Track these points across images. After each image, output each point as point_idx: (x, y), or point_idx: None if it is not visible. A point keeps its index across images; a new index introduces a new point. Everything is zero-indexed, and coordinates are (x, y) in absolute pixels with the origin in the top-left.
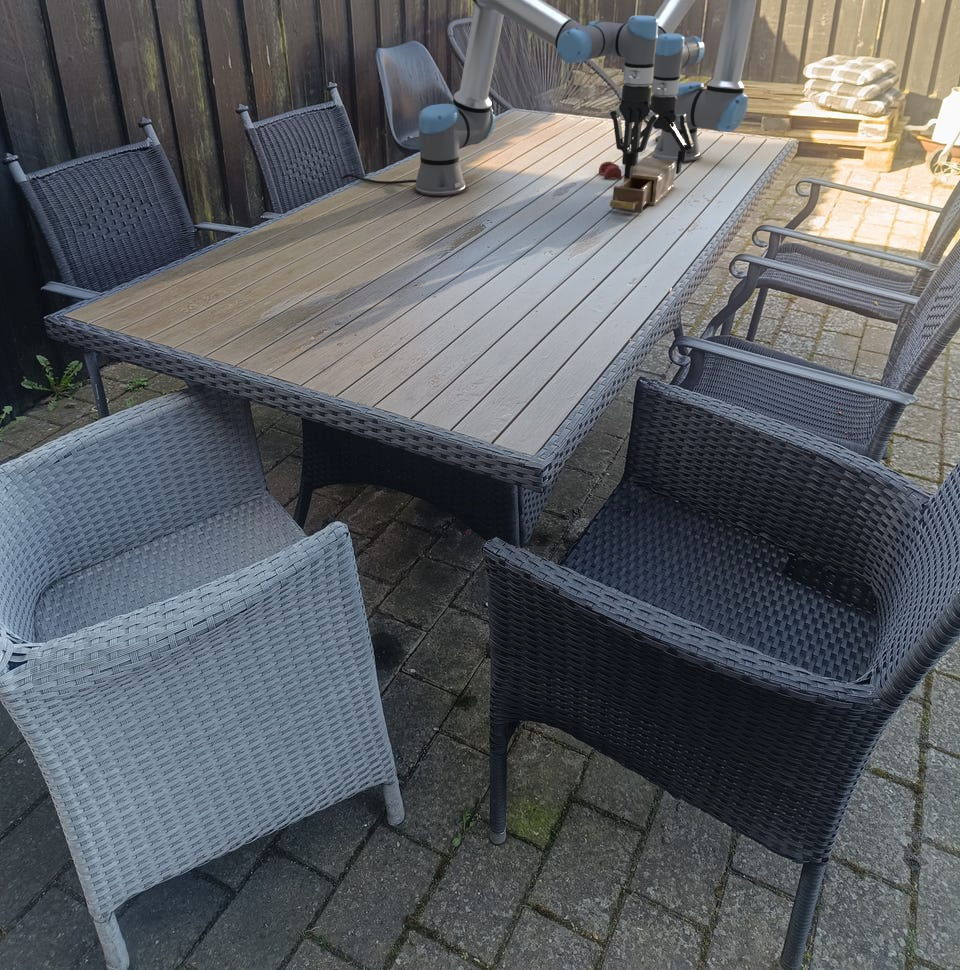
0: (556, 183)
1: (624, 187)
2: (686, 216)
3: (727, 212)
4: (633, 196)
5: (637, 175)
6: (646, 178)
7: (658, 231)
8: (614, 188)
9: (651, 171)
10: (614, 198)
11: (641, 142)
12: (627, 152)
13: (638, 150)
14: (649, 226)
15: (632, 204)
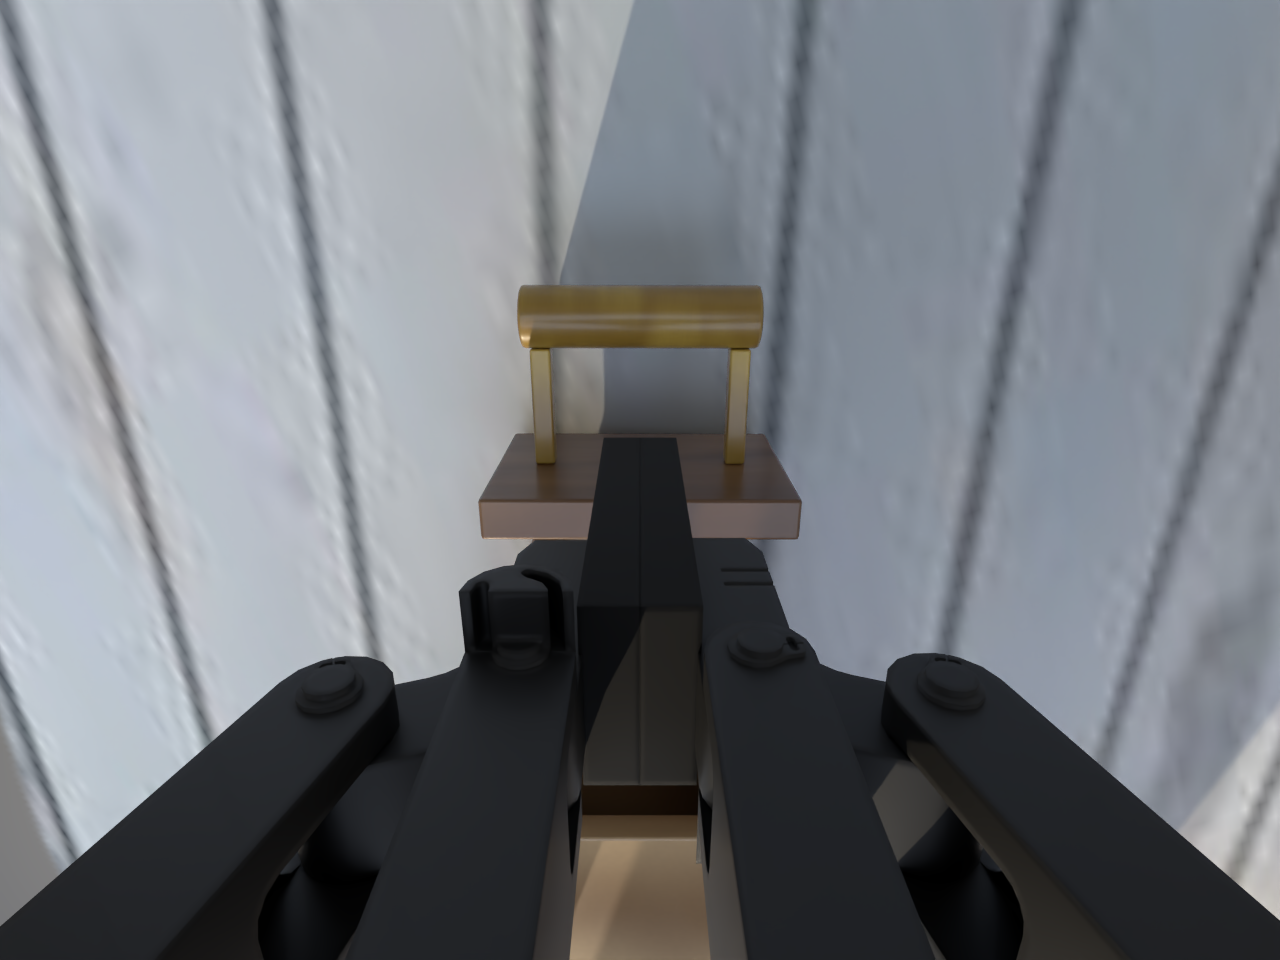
0: (1268, 824)
1: (695, 532)
2: (234, 565)
3: (57, 740)
4: (583, 474)
5: (672, 834)
6: (586, 821)
7: (240, 117)
8: (790, 496)
9: (593, 952)
10: (763, 462)
11: (233, 855)
12: (698, 667)
13: (422, 707)
14: (362, 215)
15: (530, 298)
